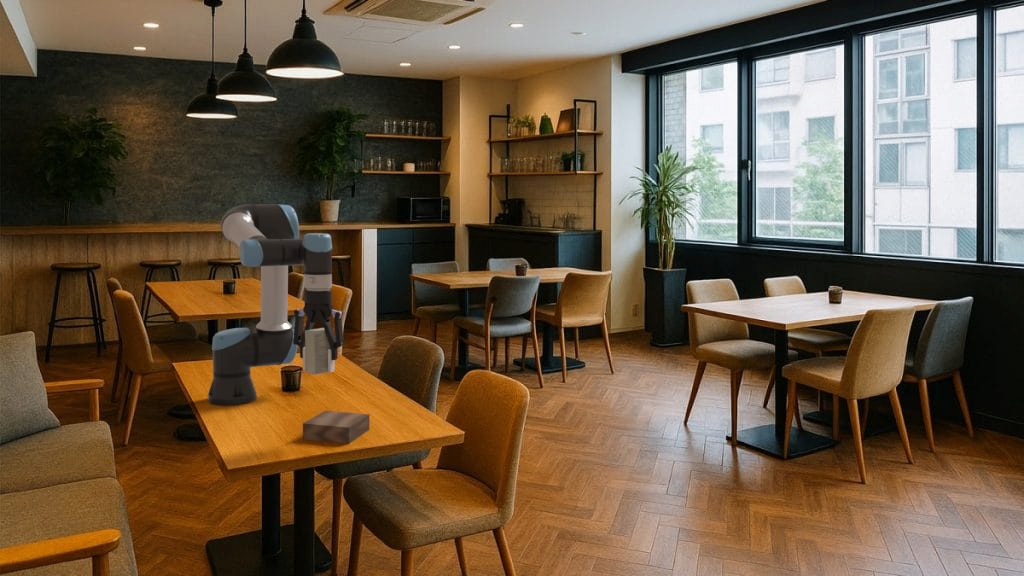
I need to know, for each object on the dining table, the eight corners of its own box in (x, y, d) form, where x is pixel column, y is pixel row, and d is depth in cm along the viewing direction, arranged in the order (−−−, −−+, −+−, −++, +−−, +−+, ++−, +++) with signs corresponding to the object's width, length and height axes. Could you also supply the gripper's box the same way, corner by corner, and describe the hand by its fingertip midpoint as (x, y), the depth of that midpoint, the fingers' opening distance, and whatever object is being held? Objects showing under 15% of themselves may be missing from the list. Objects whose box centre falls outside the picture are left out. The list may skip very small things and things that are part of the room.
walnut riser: (302, 440, 225) (302, 423, 225) (325, 426, 239) (325, 410, 238) (349, 445, 222) (349, 427, 222) (369, 430, 236) (369, 414, 235)
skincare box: (324, 369, 229) (324, 327, 228) (332, 372, 226) (332, 329, 225) (304, 372, 225) (304, 329, 224) (312, 375, 222) (312, 331, 221)
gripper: (278, 289, 221) (279, 371, 224) (346, 292, 217) (346, 375, 220) (291, 286, 229) (292, 365, 231) (356, 289, 225) (357, 369, 227)
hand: (318, 370), depth 226 cm, fingers closed on skincare box, 7 cm apart
